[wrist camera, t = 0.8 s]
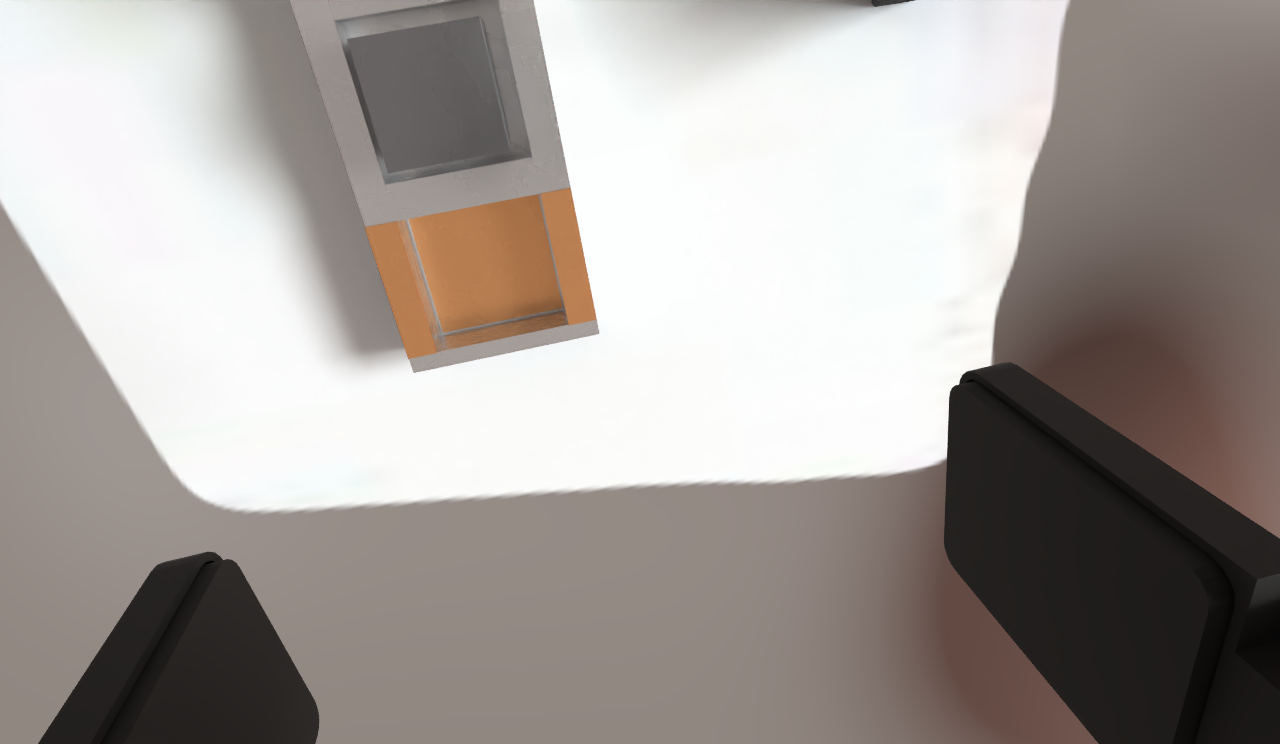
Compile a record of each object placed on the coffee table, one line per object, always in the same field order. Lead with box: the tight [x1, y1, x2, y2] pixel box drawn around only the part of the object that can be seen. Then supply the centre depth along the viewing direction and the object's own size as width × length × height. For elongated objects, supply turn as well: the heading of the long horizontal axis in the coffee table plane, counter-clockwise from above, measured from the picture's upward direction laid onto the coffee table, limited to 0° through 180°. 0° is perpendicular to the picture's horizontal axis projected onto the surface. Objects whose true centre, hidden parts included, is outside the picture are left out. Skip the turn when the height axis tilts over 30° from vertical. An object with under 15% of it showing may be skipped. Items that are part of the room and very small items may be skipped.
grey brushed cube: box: [347, 16, 510, 173], centre depth 25 cm, size 4×4×4 cm
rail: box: [290, 0, 599, 373], centre depth 27 cm, size 21×8×3 cm, turn 9°
